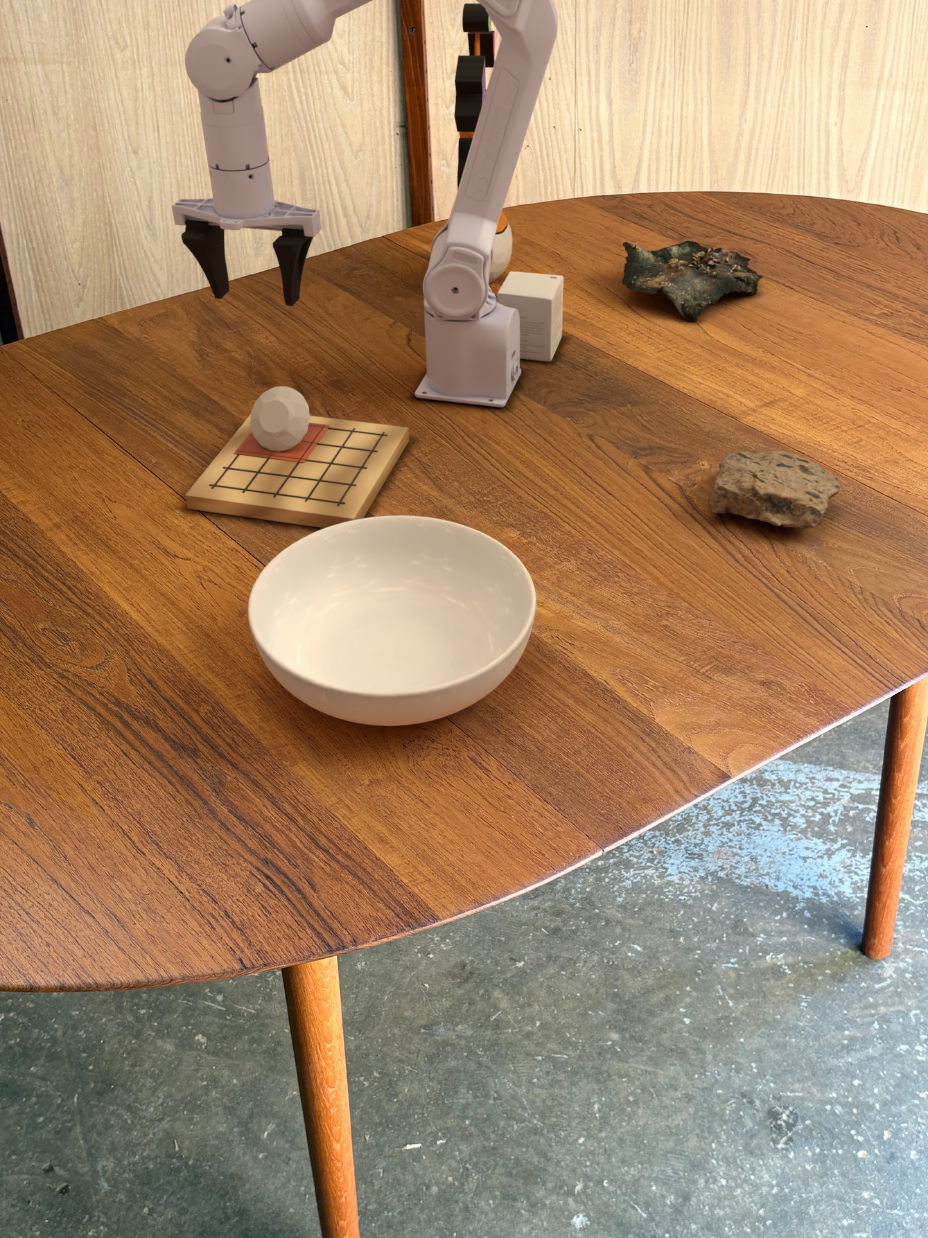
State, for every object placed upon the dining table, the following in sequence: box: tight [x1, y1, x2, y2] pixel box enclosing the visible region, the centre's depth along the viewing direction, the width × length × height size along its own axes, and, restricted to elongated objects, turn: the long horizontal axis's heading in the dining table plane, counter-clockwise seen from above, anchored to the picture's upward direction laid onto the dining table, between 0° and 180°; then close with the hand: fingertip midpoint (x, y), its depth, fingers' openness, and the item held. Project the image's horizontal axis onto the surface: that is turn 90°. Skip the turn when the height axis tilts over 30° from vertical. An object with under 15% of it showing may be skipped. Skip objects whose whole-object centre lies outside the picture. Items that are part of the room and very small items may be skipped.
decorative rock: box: [621, 240, 764, 322], centre depth 144 cm, size 19×6×15 cm
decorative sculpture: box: [453, 2, 513, 285], centre depth 138 cm, size 20×8×30 cm, turn 174°
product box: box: [496, 271, 565, 362], centre depth 131 cm, size 6×6×7 cm
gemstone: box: [250, 385, 311, 452], centre depth 115 cm, size 6×6×5 cm
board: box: [184, 413, 410, 529], centre depth 114 cm, size 16×16×2 cm
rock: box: [707, 450, 843, 530], centre depth 107 cm, size 11×11×4 cm
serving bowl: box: [247, 515, 537, 727], centre depth 90 cm, size 21×21×7 cm
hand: (257, 298), depth 122 cm, fingers open, 7 cm apart
